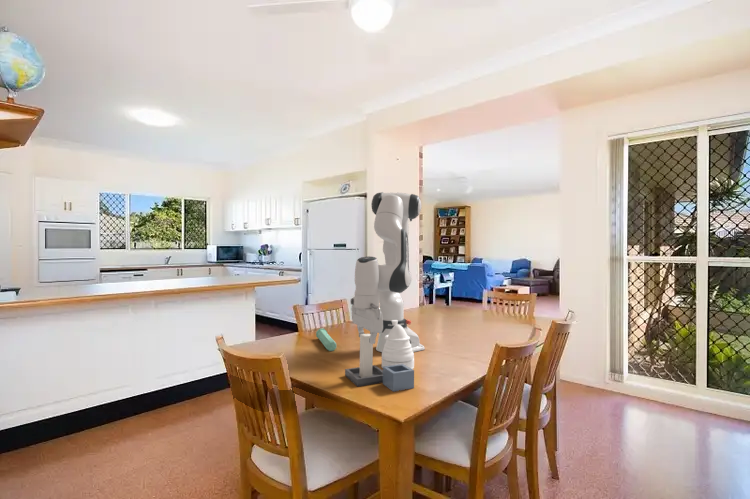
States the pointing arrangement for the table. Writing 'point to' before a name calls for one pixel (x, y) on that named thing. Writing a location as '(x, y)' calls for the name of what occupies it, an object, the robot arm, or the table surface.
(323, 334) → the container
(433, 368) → the table surface
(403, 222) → the robot arm
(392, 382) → the socket
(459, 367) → the table surface
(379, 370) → the tray
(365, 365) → the peg
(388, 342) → the honey pot
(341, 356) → the table surface
